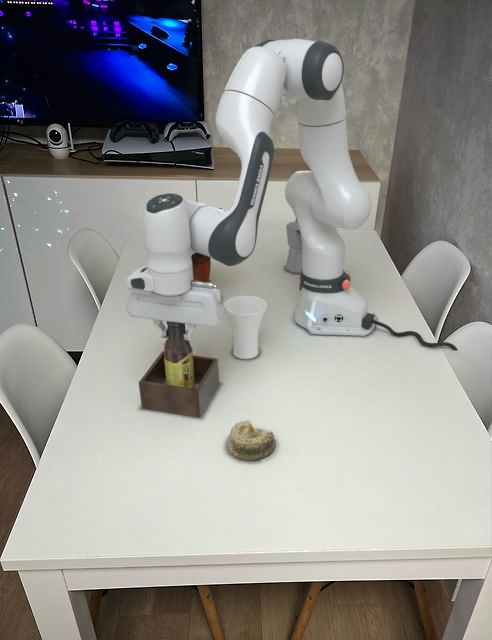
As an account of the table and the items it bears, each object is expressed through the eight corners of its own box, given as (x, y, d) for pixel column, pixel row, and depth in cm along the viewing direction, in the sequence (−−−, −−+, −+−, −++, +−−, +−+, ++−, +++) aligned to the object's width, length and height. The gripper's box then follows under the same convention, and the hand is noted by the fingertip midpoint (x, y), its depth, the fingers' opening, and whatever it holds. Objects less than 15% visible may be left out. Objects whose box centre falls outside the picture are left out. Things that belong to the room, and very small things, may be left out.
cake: (259, 469, 119) (257, 449, 116) (217, 452, 124) (214, 432, 121) (285, 439, 126) (284, 419, 123) (245, 423, 130) (243, 404, 127)
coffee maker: (312, 276, 195) (315, 221, 185) (285, 276, 195) (286, 221, 185) (310, 258, 207) (313, 205, 197) (284, 258, 207) (286, 205, 197)
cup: (273, 347, 157) (273, 300, 150) (255, 367, 149) (254, 318, 142) (237, 339, 161) (235, 292, 153) (217, 357, 153) (215, 309, 146)
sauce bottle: (190, 405, 136) (184, 327, 125) (163, 402, 137) (155, 324, 126) (199, 389, 141) (194, 312, 130) (173, 386, 142) (166, 309, 131)
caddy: (219, 384, 143) (218, 358, 139) (200, 417, 132) (198, 391, 128) (165, 376, 146) (162, 350, 142) (141, 408, 135) (138, 382, 131)
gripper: (225, 277, 124) (227, 337, 131) (131, 267, 127) (138, 325, 135) (215, 290, 118) (218, 351, 126) (118, 279, 122) (126, 339, 130)
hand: (176, 338), depth 131 cm, fingers closed on sauce bottle, 4 cm apart
